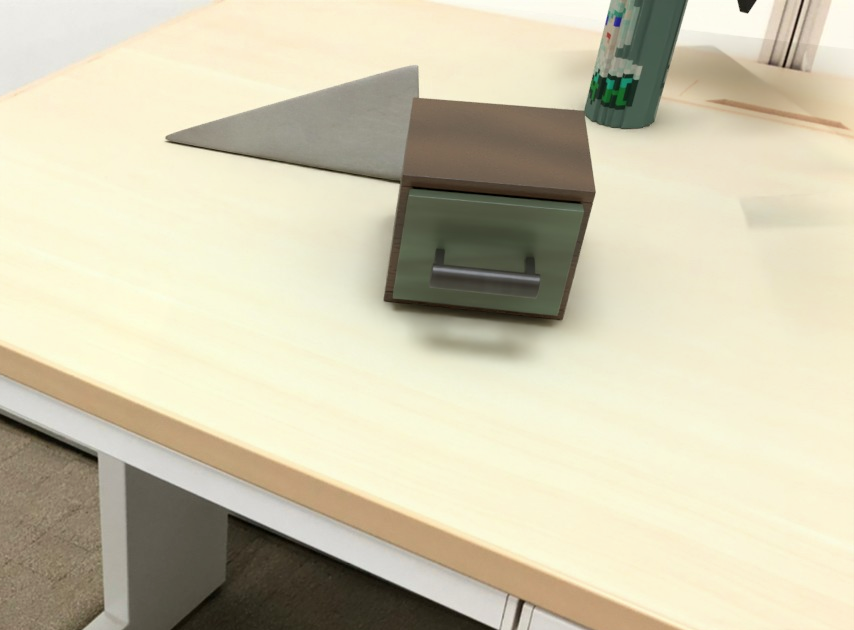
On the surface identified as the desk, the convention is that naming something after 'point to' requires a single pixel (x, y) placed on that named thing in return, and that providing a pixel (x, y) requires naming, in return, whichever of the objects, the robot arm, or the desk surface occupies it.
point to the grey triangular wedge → (324, 127)
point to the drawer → (486, 250)
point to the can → (633, 61)
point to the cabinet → (495, 164)
